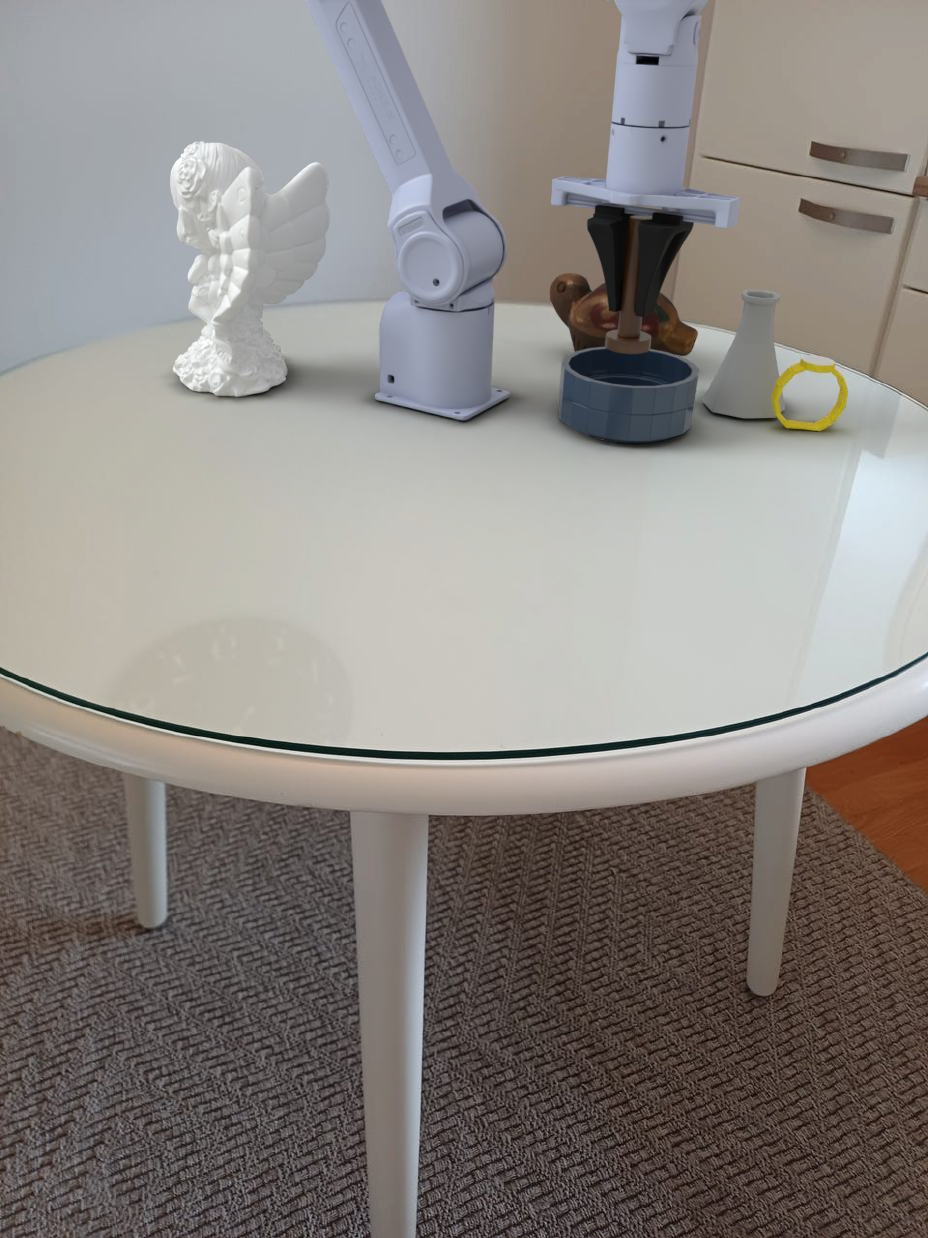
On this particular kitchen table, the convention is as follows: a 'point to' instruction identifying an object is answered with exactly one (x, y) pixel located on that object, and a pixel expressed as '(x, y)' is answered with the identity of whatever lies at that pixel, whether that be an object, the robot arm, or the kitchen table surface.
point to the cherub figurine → (242, 261)
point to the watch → (818, 366)
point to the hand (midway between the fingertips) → (630, 311)
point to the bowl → (627, 394)
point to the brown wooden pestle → (630, 299)
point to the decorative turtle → (614, 317)
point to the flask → (749, 363)
